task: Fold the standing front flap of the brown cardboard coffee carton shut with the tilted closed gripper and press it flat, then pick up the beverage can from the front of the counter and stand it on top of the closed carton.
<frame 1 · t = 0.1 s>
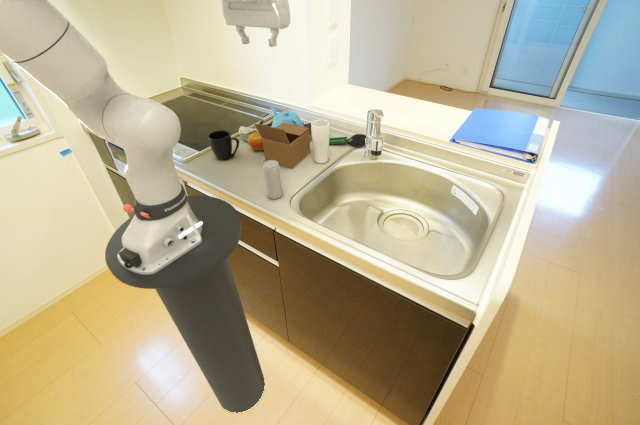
hand: (259, 45, 89), 42 cm above the counter, tool pointing down, fingers open, 8 cm apart
beverage can: (275, 196, 104), on the counter
carton: (288, 156, 123), on the counter
bone model: (307, 135, 140), on the counter
rock 2: (244, 140, 133), point 1 cm above the counter, touching arrowhead
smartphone: (321, 136, 135), point 1 cm above the counter
flap: (272, 133, 109), point 13 cm above the counter, hinge at 115.0°
mug: (228, 158, 124), on the counter
drinking glass: (321, 160, 121), on the counter
teapot: (286, 135, 139), on the counter, touching brown curved piece
rock: (358, 135, 129), point 3 cm above the counter, touching business card
fruit: (260, 148, 129), on the counter
brown curved piece: (261, 123, 145), point 2 cm above the counter, touching teapot
business card: (335, 144, 129), point 1 cm above the counter, touching rock
arrowhead: (250, 133, 137), point 1 cm above the counter, touching rock 2
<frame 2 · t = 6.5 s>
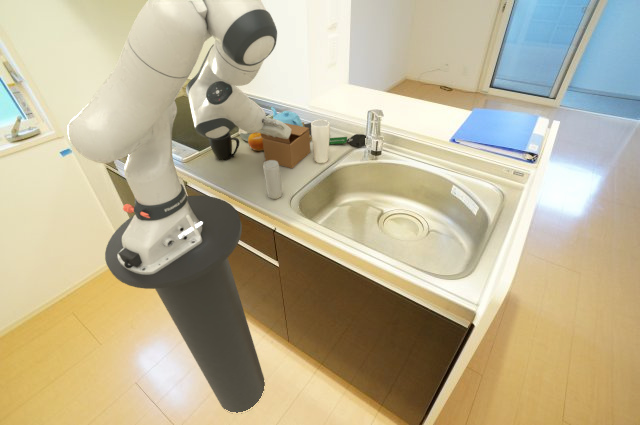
hand: (272, 134, 110), 13 cm above the counter, tool tilted 45°, fingers closed, pressing on flap
rock 2: (244, 140, 133), point 1 cm above the counter
flap: (273, 132, 110), point 14 cm above the counter, hinge at 100.0°, touching gripper
arrowhead: (250, 133, 137), point 1 cm above the counter
everything else where it was.
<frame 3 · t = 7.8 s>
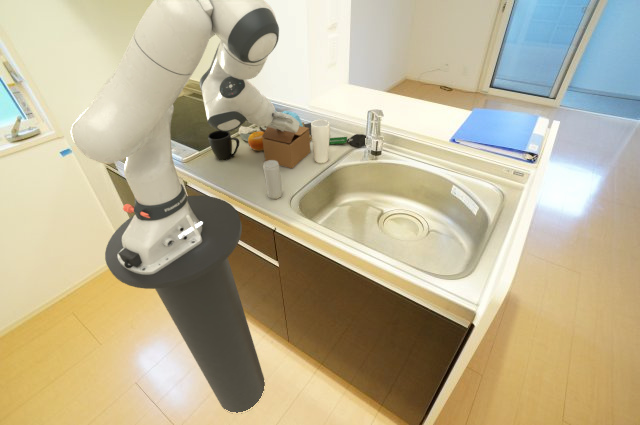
hand: (280, 129, 113), 13 cm above the counter, tool tilted 45°, fingers closed
rock 2: (244, 140, 133), point 1 cm above the counter, touching arrowhead
flap: (279, 132, 113), point 12 cm above the counter, hinge at 31.2°, touching gripper
teapot: (286, 135, 139), on the counter
brown curved piece: (261, 122, 145), point 2 cm above the counter
arrowhead: (250, 133, 137), point 1 cm above the counter, touching rock 2
everything else where it was.
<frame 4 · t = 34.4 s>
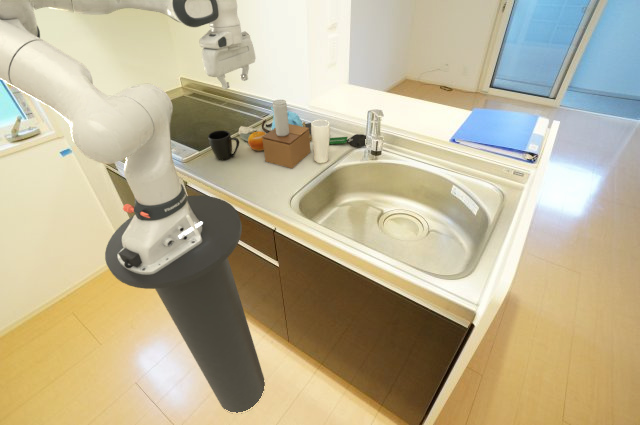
hand: (235, 84, 102), 29 cm above the counter, tool pointing down, fingers open, 8 cm apart
beverage can: (282, 134, 116), point 10 cm above the counter, touching carton, flap
rock 2: (244, 140, 133), point 1 cm above the counter
flap: (280, 136, 115), point 10 cm above the counter, hinge at -1.2°, touching beverage can
arrowhead: (250, 134, 137), point 1 cm above the counter
at the end: flap at -1° (first picture: +115°); beverage can inside the target area on the carton (1.0 cm from its centre), point 10.1 cm above the carton's base; beverage can tilted 1° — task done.
